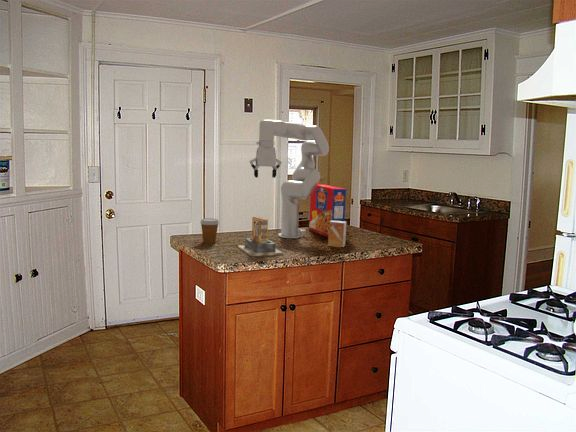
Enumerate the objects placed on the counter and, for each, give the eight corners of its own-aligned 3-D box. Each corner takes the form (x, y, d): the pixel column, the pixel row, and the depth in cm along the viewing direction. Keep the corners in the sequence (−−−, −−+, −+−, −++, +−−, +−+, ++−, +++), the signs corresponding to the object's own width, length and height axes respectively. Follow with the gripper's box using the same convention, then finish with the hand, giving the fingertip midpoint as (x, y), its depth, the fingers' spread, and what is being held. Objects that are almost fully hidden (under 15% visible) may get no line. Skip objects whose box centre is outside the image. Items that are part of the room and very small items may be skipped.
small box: (327, 246, 287) (328, 221, 285) (330, 244, 293) (331, 220, 291) (342, 247, 285) (344, 223, 283) (345, 245, 291) (346, 221, 289)
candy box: (267, 250, 266) (268, 219, 264) (260, 251, 264) (261, 219, 262) (258, 246, 274) (259, 216, 271) (251, 247, 271) (252, 216, 269)
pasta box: (309, 229, 335) (311, 184, 331) (320, 229, 338) (322, 184, 334) (331, 238, 310) (333, 189, 306) (343, 237, 313) (346, 188, 309)
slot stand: (268, 246, 281) (268, 236, 280) (282, 254, 263) (282, 244, 262) (238, 247, 275) (238, 237, 274) (250, 256, 257) (250, 245, 256)
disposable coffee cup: (196, 242, 285) (196, 219, 283) (210, 240, 291) (211, 217, 290) (207, 245, 278) (208, 221, 276) (222, 243, 285) (222, 220, 283)
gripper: (252, 144, 277) (251, 177, 280) (284, 145, 284) (283, 178, 286) (248, 143, 284) (247, 176, 287) (279, 144, 291) (278, 176, 293)
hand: (265, 177), depth 287 cm, fingers open, 9 cm apart
